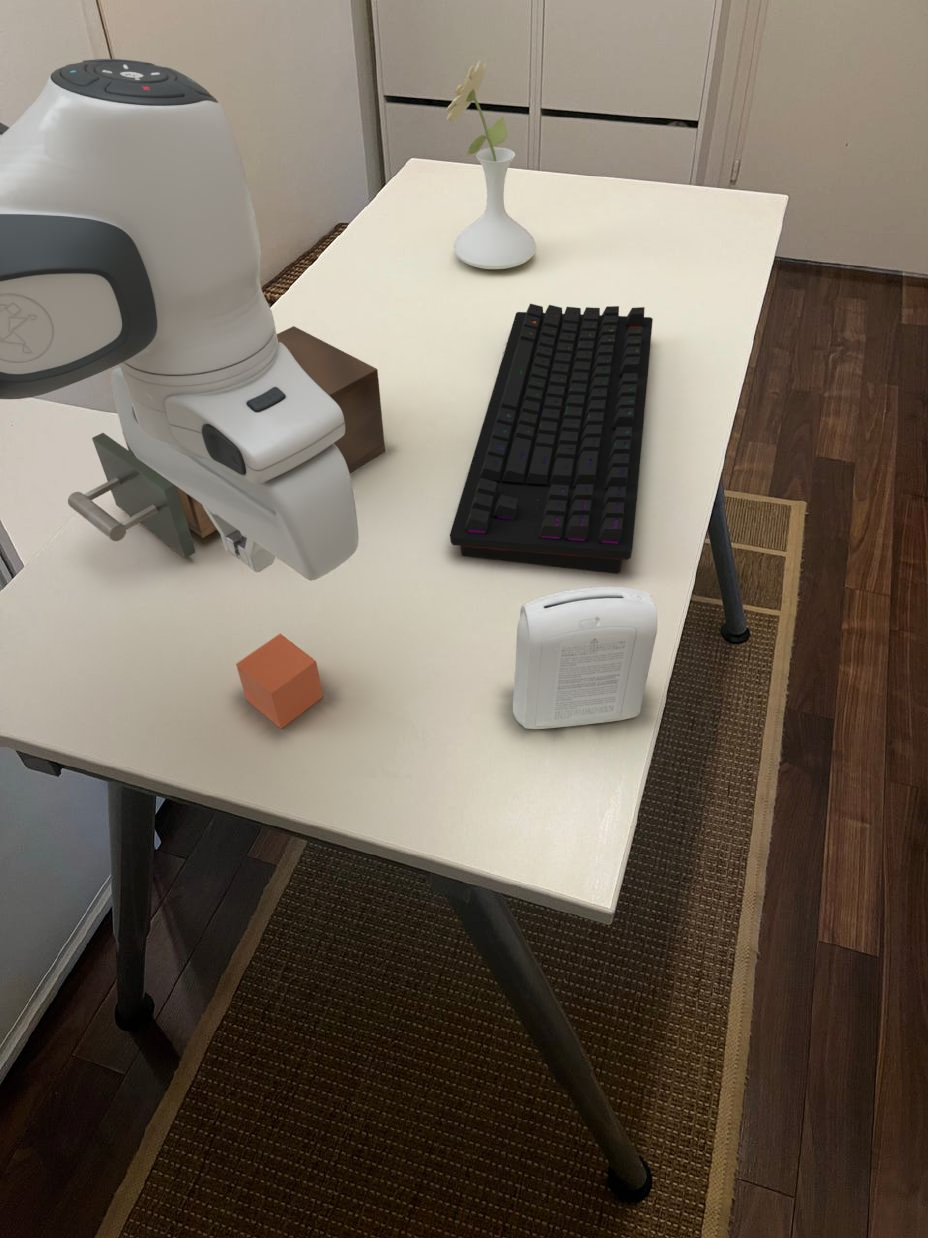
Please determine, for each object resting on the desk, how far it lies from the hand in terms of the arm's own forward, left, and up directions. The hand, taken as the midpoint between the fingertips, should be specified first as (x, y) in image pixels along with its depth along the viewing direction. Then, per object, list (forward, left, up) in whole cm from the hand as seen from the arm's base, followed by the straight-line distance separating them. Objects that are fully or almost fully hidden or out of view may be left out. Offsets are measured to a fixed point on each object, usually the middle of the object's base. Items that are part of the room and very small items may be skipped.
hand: (250, 557), depth 63 cm
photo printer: (+22, -8, -15) cm, 28 cm away
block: (0, 0, -15) cm, 15 cm away
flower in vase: (+40, +69, -15) cm, 81 cm away
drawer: (-5, +25, -14) cm, 30 cm away
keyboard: (+34, +27, -15) cm, 46 cm away
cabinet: (+6, +32, -15) cm, 36 cm away
